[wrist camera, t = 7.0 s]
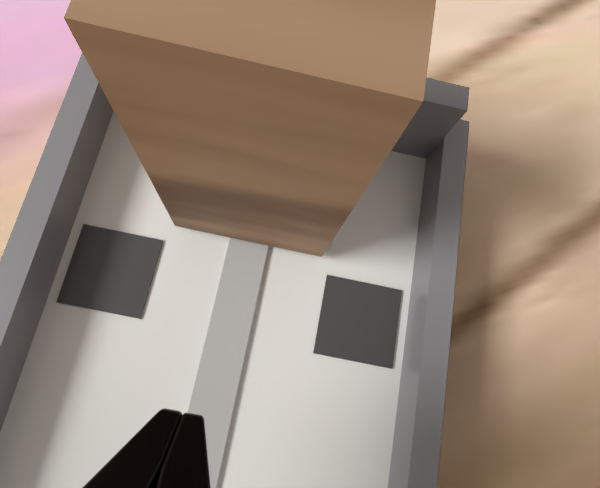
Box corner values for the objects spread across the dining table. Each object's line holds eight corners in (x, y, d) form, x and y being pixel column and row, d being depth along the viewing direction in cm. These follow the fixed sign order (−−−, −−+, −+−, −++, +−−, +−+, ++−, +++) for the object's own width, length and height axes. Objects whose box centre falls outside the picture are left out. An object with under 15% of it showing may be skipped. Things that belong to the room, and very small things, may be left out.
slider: (321, 256, 18) (423, 101, 7) (174, 225, 18) (63, 17, 7) (340, 148, 19) (449, -112, 9) (205, 117, 19) (150, -190, 9)
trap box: (389, 625, 16) (448, 735, 11) (-59, 551, 15) (-200, 635, 10) (440, 154, 22) (494, 93, 17) (111, 79, 21) (70, -7, 16)
